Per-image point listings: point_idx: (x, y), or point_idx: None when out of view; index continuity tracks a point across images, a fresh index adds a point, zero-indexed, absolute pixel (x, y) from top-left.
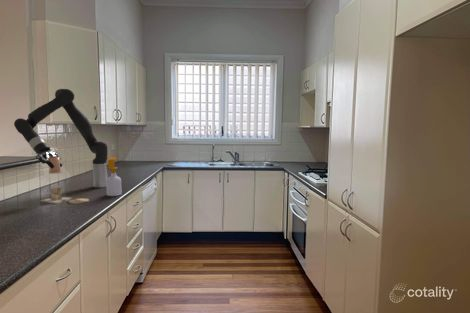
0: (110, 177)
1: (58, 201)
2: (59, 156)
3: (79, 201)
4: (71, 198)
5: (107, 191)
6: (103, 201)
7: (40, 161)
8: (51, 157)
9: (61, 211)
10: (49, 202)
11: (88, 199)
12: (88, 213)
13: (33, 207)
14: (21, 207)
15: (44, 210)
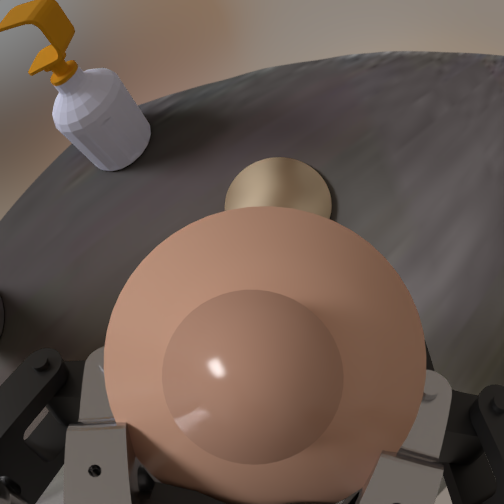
0: (93, 86)
1: None
2: (5, 398)
3: (295, 186)
4: None
5: (135, 140)
6: (248, 106)
7: (488, 489)
8: (256, 476)
9: (444, 166)
10: None
11: (244, 171)
12: (414, 72)
13: (440, 350)
14: None
15: (462, 249)
